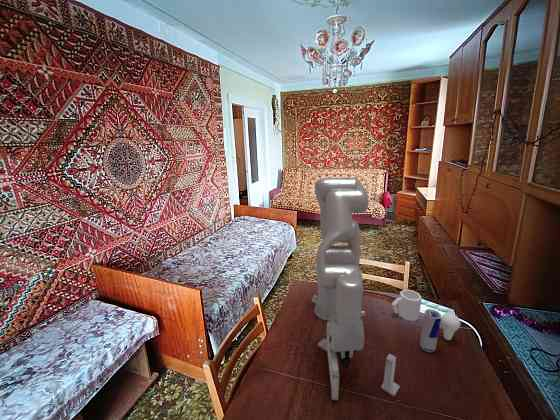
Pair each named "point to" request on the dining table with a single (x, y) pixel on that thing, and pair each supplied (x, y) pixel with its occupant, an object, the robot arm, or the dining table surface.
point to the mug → (408, 305)
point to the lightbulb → (450, 325)
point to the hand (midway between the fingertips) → (344, 365)
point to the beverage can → (430, 330)
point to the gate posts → (389, 369)
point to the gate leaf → (333, 371)
